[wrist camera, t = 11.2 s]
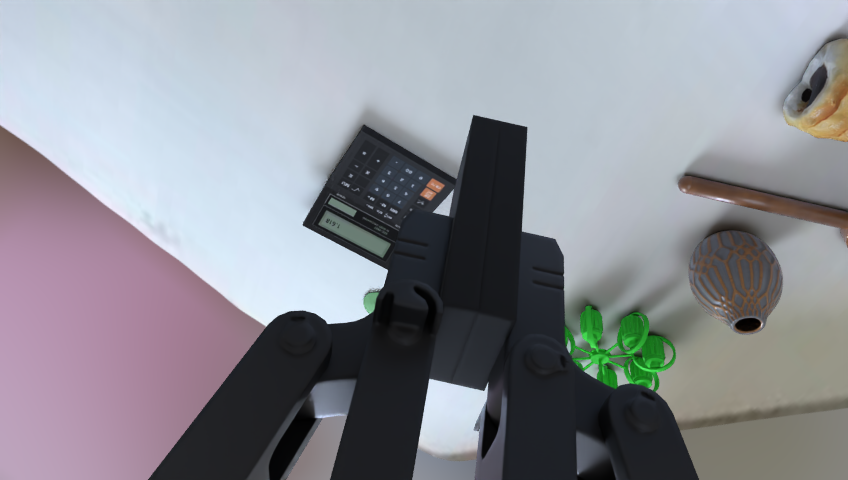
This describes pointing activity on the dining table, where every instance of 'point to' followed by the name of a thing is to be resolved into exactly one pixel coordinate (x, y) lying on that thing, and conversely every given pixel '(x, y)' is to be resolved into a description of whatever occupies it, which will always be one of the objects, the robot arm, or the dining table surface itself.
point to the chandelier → (633, 339)
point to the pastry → (822, 95)
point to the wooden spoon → (766, 202)
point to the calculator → (375, 196)
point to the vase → (736, 279)
